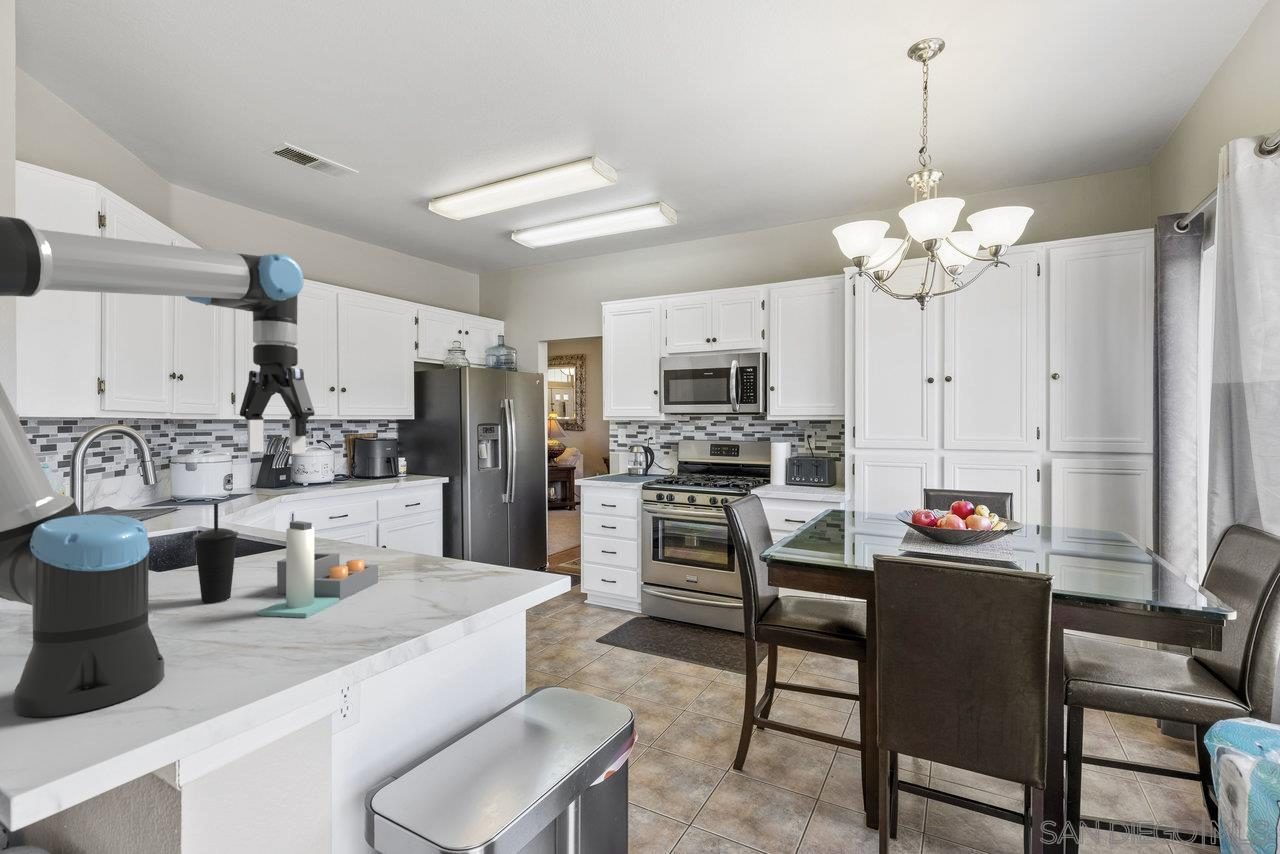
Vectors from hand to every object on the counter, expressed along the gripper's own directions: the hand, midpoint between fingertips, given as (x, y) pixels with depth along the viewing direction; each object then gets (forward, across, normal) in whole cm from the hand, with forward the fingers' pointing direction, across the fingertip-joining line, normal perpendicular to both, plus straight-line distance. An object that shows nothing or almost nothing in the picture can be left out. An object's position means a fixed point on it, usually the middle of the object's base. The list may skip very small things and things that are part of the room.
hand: (276, 452), depth 118 cm
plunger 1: (+30, -3, -12) cm, 32 cm away
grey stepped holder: (+31, +4, -13) cm, 33 cm away
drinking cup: (+31, +16, +3) cm, 35 cm away
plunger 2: (+30, -1, -17) cm, 35 cm away
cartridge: (+30, -5, -2) cm, 30 cm away
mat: (+31, -5, -2) cm, 31 cm away
